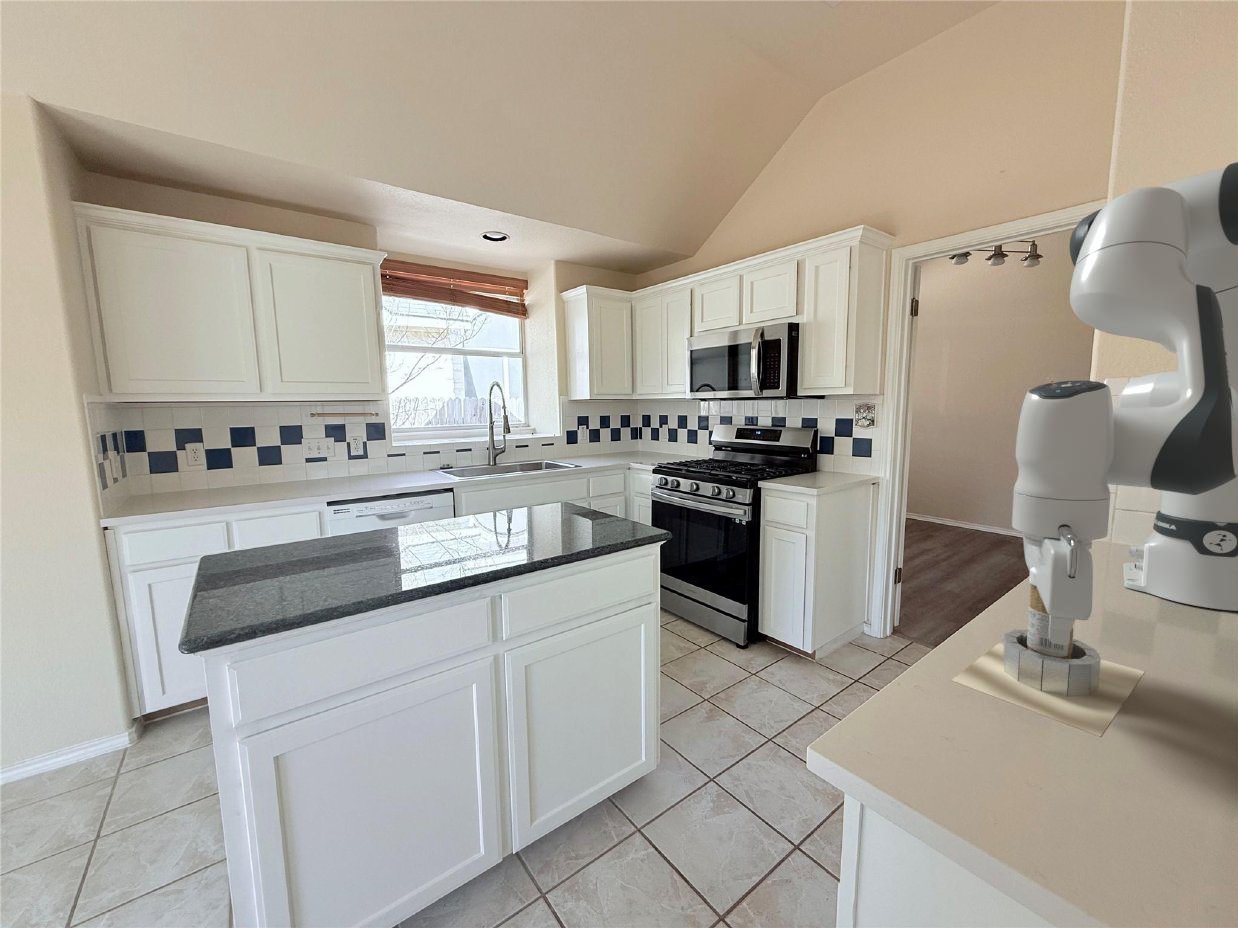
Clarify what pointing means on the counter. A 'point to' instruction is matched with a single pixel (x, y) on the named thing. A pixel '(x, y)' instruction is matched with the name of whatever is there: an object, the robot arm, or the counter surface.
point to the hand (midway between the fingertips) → (1051, 625)
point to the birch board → (1070, 710)
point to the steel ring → (1052, 667)
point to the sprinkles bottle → (1043, 626)
